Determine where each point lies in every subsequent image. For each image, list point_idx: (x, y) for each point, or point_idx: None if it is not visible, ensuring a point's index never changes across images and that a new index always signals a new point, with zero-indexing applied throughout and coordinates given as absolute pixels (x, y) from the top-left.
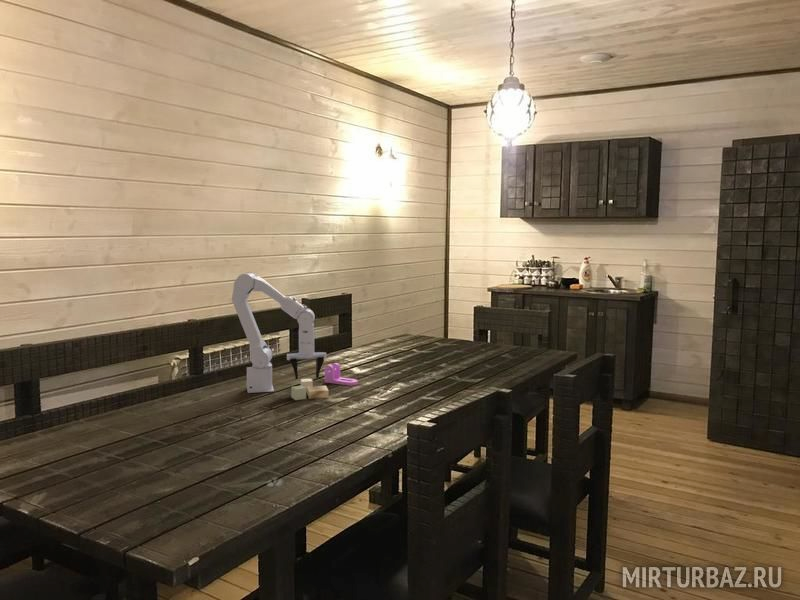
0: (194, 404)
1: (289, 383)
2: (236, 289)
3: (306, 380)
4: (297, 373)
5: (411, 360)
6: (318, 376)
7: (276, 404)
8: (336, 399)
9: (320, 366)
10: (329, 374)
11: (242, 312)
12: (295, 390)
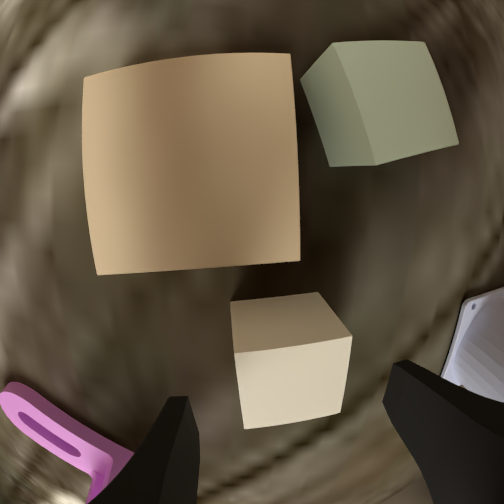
0: None
1: (346, 448)
2: None
3: (298, 380)
4: (432, 389)
5: (11, 498)
6: (164, 405)
7: (455, 38)
8: (69, 53)
9: (105, 501)
10: None
11: None
12: (417, 43)
